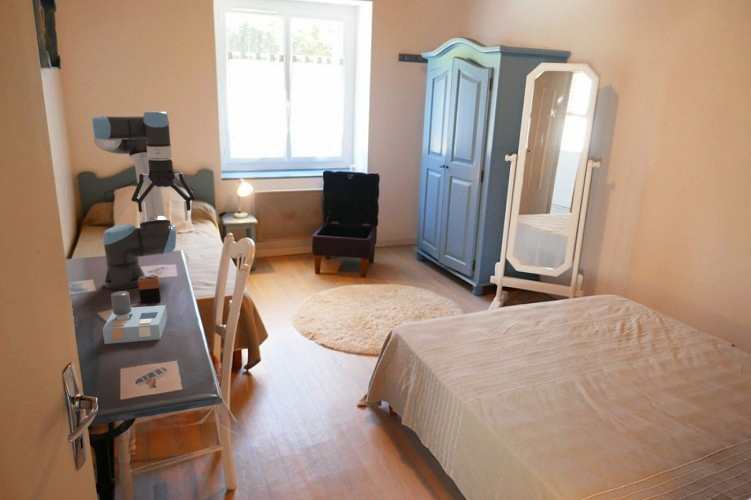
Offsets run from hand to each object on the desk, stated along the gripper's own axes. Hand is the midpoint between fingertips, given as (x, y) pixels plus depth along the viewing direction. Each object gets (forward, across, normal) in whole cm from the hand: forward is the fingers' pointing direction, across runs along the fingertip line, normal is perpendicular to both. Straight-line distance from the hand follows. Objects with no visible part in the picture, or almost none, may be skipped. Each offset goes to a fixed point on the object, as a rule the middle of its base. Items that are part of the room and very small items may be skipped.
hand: (166, 220), depth 180 cm
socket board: (+32, -9, -20) cm, 39 cm away
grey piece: (+31, -13, -20) cm, 39 cm away
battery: (+32, -9, +6) cm, 34 cm away
